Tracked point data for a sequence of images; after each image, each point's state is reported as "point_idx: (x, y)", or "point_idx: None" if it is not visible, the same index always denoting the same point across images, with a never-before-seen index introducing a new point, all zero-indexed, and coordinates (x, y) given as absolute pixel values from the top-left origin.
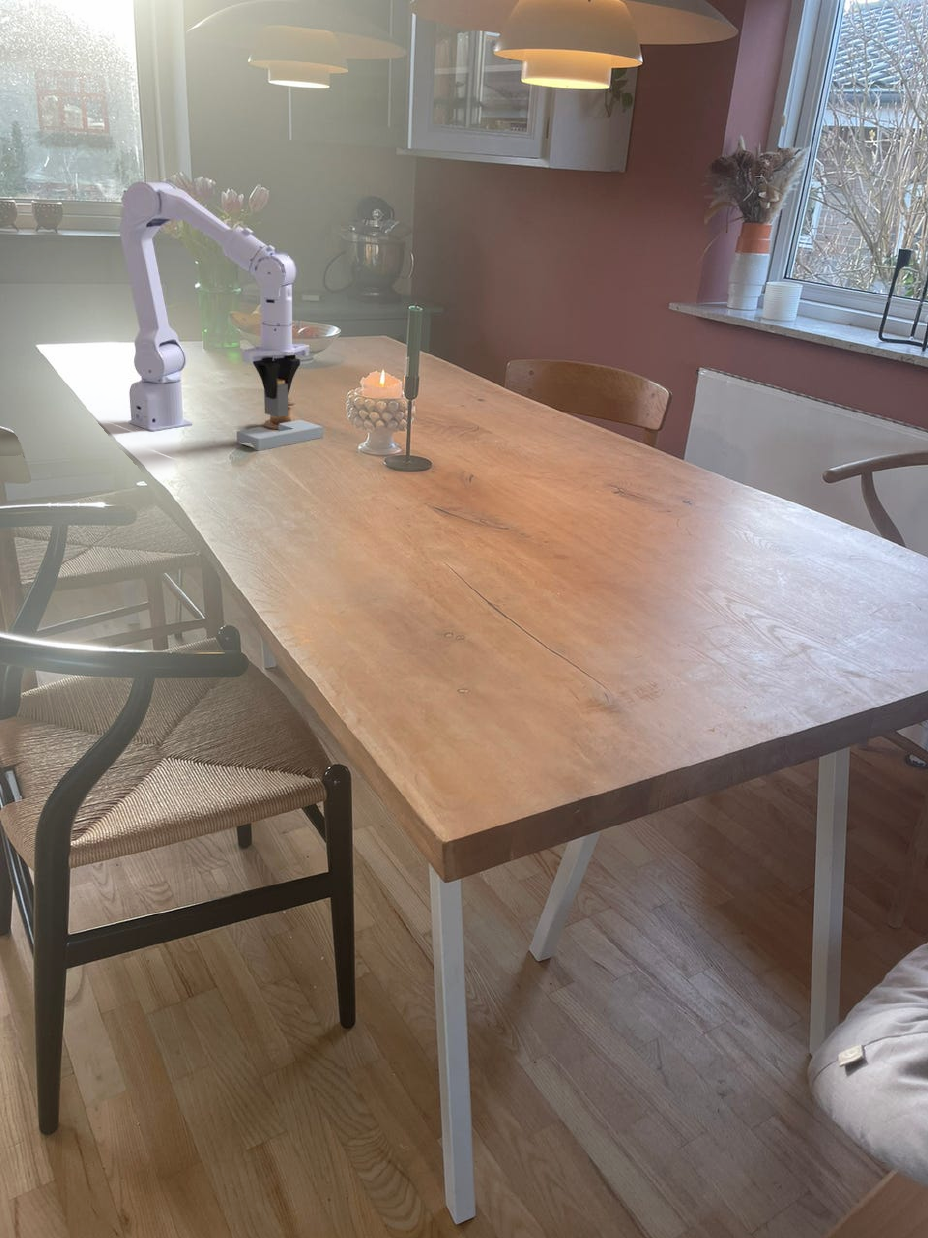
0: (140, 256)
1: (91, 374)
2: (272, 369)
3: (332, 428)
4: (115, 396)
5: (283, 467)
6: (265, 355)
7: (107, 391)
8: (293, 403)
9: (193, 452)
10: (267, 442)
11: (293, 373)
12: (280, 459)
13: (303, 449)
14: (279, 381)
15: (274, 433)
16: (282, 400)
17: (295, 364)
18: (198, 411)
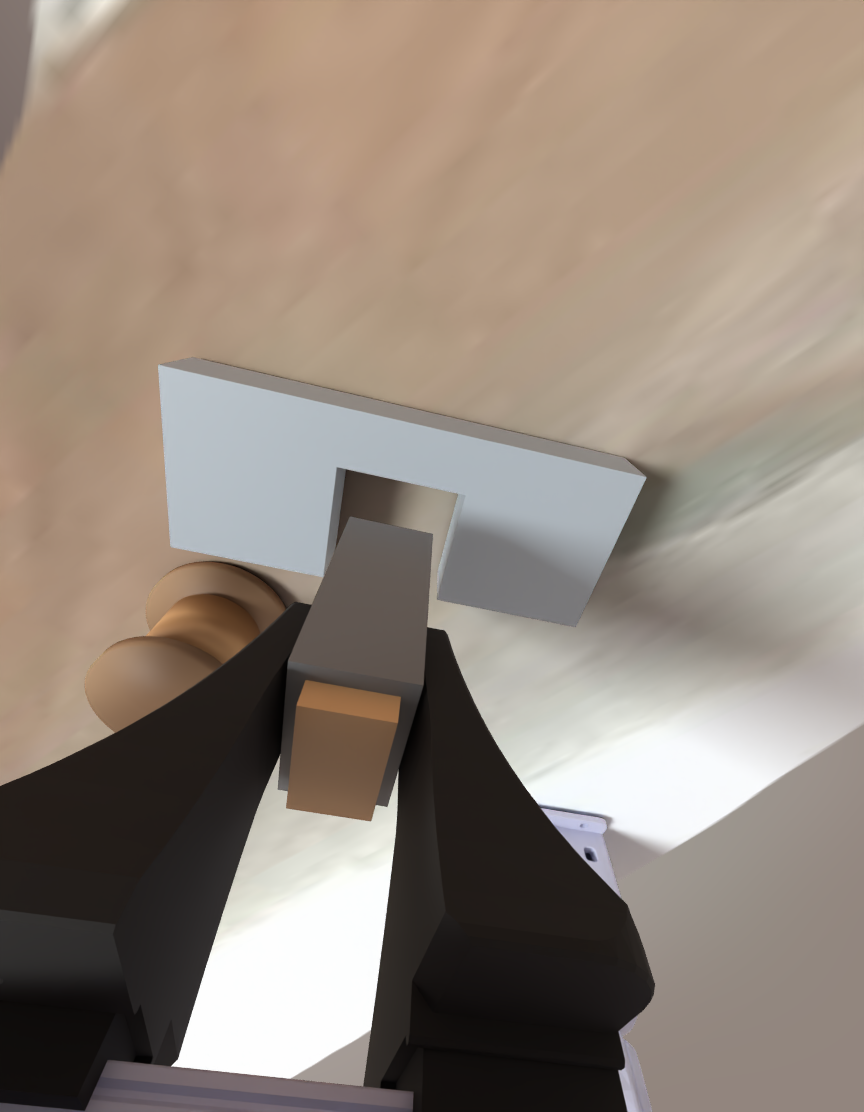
0: None
1: (285, 1048)
2: (574, 870)
3: (17, 440)
4: (377, 979)
5: (856, 135)
6: None
7: (358, 998)
8: (127, 643)
9: (763, 632)
10: (579, 455)
11: (162, 724)
12: (696, 275)
13: (442, 302)
14: (371, 716)
15: (492, 484)
16: (382, 583)
17: (66, 830)
18: (321, 850)
